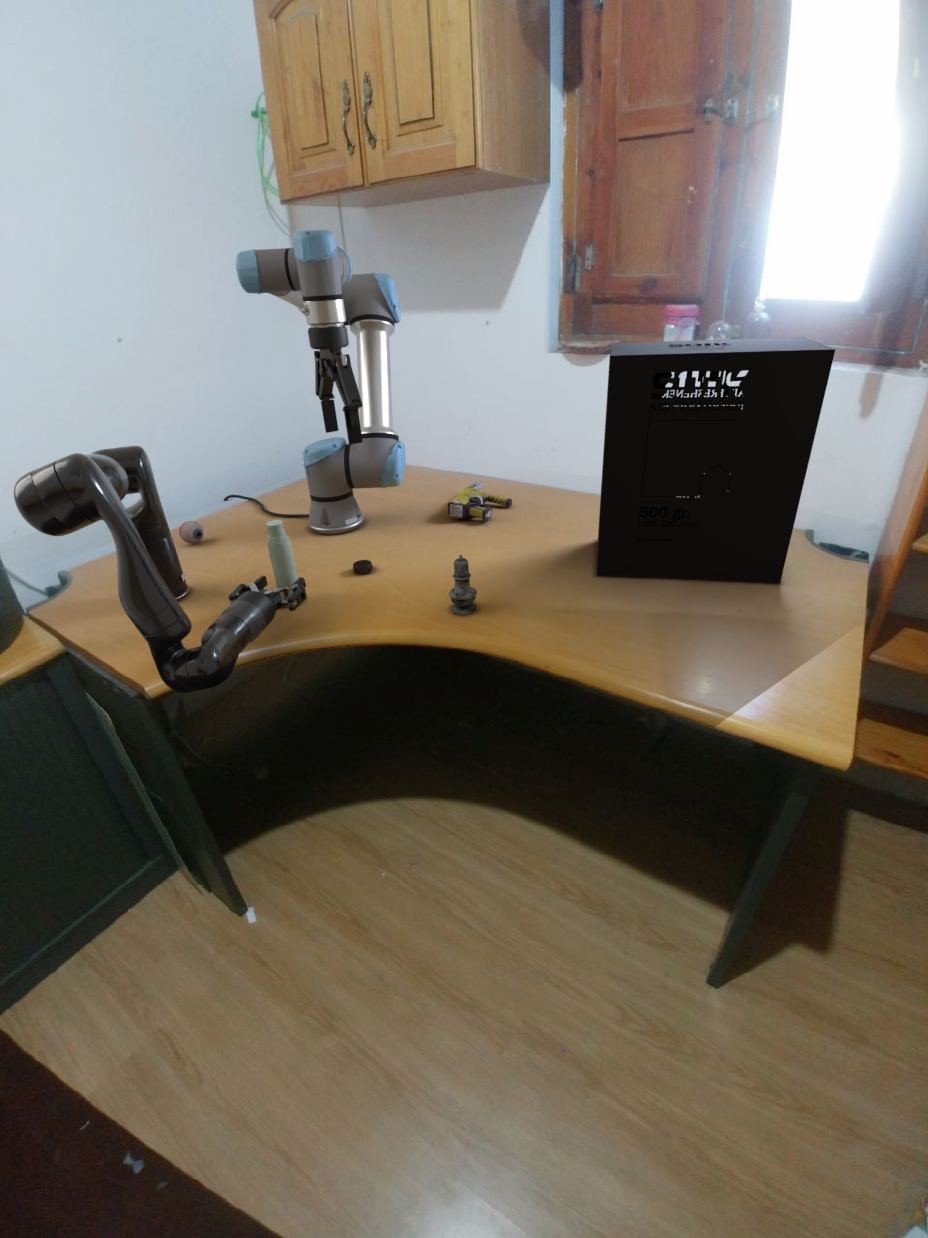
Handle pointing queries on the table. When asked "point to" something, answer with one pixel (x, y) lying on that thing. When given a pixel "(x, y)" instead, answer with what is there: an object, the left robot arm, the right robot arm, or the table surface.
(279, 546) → the bottle
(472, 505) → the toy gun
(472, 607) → the salt shaker
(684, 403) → the cardboard box
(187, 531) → the eyeball
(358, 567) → the cap
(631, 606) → the table surface
